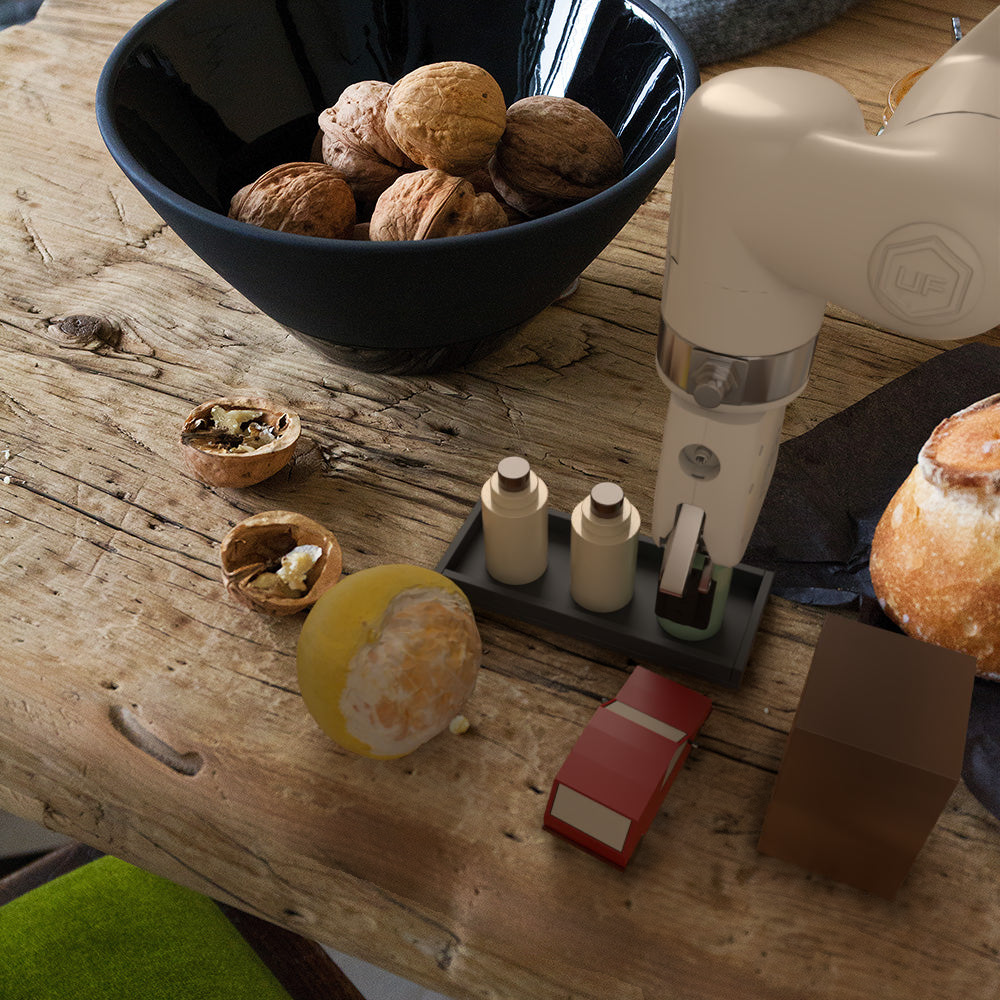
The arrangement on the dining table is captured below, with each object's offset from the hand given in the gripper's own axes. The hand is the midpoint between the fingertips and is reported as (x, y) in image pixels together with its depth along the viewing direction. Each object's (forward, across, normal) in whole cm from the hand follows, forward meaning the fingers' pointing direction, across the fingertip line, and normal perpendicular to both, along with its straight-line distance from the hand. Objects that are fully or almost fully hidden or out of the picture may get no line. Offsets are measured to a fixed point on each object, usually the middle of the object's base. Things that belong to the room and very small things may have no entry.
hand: (696, 581), depth 63 cm
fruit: (+4, -13, +14) cm, 19 cm away
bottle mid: (+3, 0, +6) cm, 7 cm away
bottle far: (+3, 0, +12) cm, 12 cm away
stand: (+4, -10, -11) cm, 15 cm away
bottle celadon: (+3, 0, 0) cm, 3 cm away
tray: (+4, 0, +6) cm, 7 cm away
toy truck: (+4, -12, 0) cm, 13 cm away
